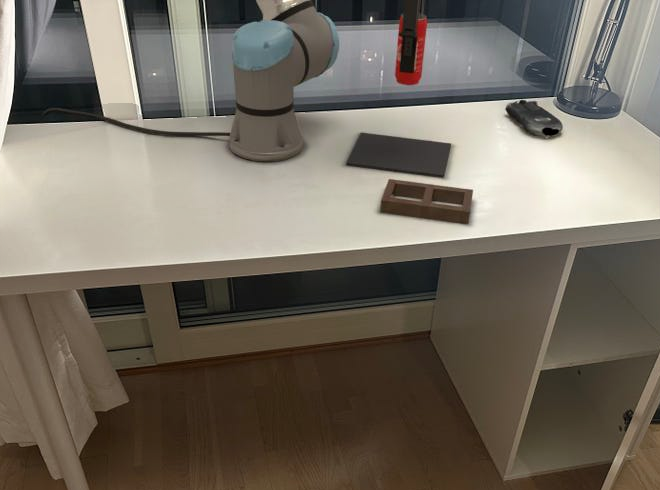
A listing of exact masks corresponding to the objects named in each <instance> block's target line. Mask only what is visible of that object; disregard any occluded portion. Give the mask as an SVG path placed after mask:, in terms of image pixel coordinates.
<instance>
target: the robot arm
mask: <svg viewBox="0 0 660 490" xmlns="http://www.w3.org/2000/svg"><path fill="white" fill-rule="evenodd" d="M255 1H256V4H257V5H258V7H259V9H260V11H261V13H262V19H261V20H260V21H252V22H249V23H246V24H244V25H242V26H240V27H239V28H238V29H237V30H236V31H235V32H234V34H233V37H232V51H231V60H232V66H233V67H232V68H233V80H234V81H233V82H234V93H235V94H234V95H235V114H234V118H233V121H232V125H231V130H230V132H226V131H225V132H220V131H218V132H217V131H207V132H206V131H203V132H202V131H169V130H168V131H167V130H159V129H152V128H146V127H142V126H137V125H134V124H130V123H125V122H122V121H120V120H117V119H114V118H110V117H108V116H104V115H100V114H95V113H90V112H85V111H77V110H71V109H66V108H60V107H50V108H48V109H46V110H44V112H42V114H41V115H42V116H43V117H44V116H47V115H49V114H50V113H53V112H54V113H55V112H58V113H59V112H60V113H63V114H70V115H75V116H83V117H89V118H94V119H98V120H102V121H106V122H109V123H111V124H112V123H113V124H116V125H118V126H121V127H124V128H127V129H132V130H135V131H138V132H144V133H150V134H155V135H164V136H181V137H182V136H183V137H184V136H185V137H190V136H191V137H228V141H229V149H230V151H231V153H234V154H235V155H236V156H238V157H239V158H242V159H246V160H250V161H256V162H278V161H284V160H287V159H291V158H293V157H296V155H297V156H298V154H300V153H301V152H302V150H303V147H304V146H303V145H304V143H303V141H304V139H303V134H302V131H301V128H300V126H299V122H298V119H297V116H296V113H295V109H294V107H295V106H294V98H295V97H294V89H295V87H297V86H299V85H301V84H304V83H306V82H307V81H310V80H312V79H314V78H318V77H319V76H321V75H323V74H324V73H325V72H327V71H328V70H329V69H330V68H332V67H333V65H334V64H335V63H336V61H337V59H338V55H339V51H340V35H339V33H338V32H339V31H338V30H337V29H338V28H337V27H336V25H335V23H334V21H332V19H331V18H330V17H329V16H327V15H324V14H323V13H322V12H317V10H316V8H315V6H314V3H313V0H255ZM403 2H404V3H403V13H402V14H403V24H402V30H401V33H399V36H402V47H401V59H400V71H399V72H404V73H414V66H415V56H416V46H417V26H418V17H419V13H421V14H424V10H425V9H424V8H425V0H404V1H403Z"/></svg>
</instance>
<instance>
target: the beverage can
mask: <svg viewBox="0 0 660 490" xmlns="http://www.w3.org/2000/svg"><path fill="white" fill-rule="evenodd" d="M402 24H403V13H401V14H400V17H399V21H398V33H397V45H396V55H395V56H396V59H395V68H394V69H395V70H394V76H395V80H396V83H398V84H399V85H402V86H416V85H418V84H419V83H420V80H421V78H422V75H423V67H424V66H423V65H424V57H425V48H426V47H425V46H426V39H427V27H428V19H427V15H426V14H424V13H423V14H421V13H419V17H418V26H417V46H416V56H415V66H414V73H404V72H399V71H400V59H401V47H402V36H399V33H401V30H402Z"/></svg>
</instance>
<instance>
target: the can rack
mask: <svg viewBox="0 0 660 490" xmlns="http://www.w3.org/2000/svg"><path fill="white" fill-rule="evenodd" d="M473 195H474V189H471V188H463V187H457V186H456V187H454V186H447V185H438V184H432V183H424V182H416V181H408V180H401V179H393V178H388V180H387V183H386V186H385V188H384V191H383V194H382V196H381V199H380V211H379V212H380V213H384V214H392V215H399V216H406V217H415V218H421V219H428V220H429V219H430V220H437V221H443V222H450V223H451V222H452V223H459V224H466V225H468V224H469V220H470V216H471V210H472V209H471V208H472V201H473ZM395 196H398V197H395ZM400 197H406V198H400ZM407 198H412V199H407ZM413 198H414V199H413ZM415 199H421V200H415ZM433 201H436V202H433ZM437 202H444V203H445V204H444V203H437ZM446 203H452V204H446ZM453 204H459V205H461V206H458V205H453Z"/></svg>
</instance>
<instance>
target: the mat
mask: <svg viewBox="0 0 660 490" xmlns="http://www.w3.org/2000/svg"><path fill="white" fill-rule="evenodd" d="M451 148H452V143H450V142H443V141H435V140H427V139H419V138H418V139H417V138H411V137H410V138H409V137H401V136H393V135H385V134H376V133H371V132H370V133H369V132H362V131H361V132H360V133H359V135H358V138H357V139H356V142H355V143H354V146H353V148H352V150H351V152H350V154H349V156H348V158H347V161H346V163H345V166H347V167H357V168H365V169H373V170H380V171H388V172H396V173H403V174H412V175H419V176H427V177H434V178H443V179H444V178H445V176H446V175H445V174H446V170H447V165H448V161H449V157H450V153H451V152H450V151H451Z"/></svg>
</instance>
